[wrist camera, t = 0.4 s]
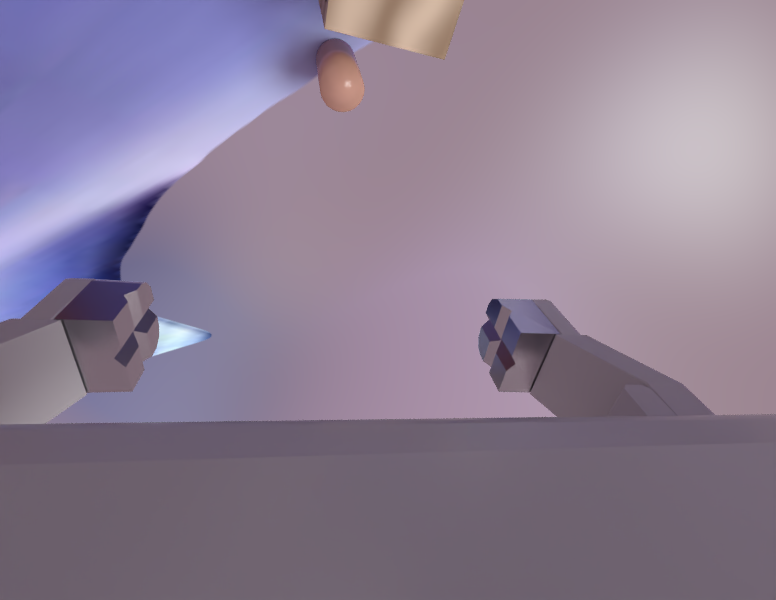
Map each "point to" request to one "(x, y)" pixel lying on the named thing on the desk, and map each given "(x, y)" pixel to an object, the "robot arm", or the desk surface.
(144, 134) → the desk surface
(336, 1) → the wooden shelf
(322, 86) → the peach rounded capsule
